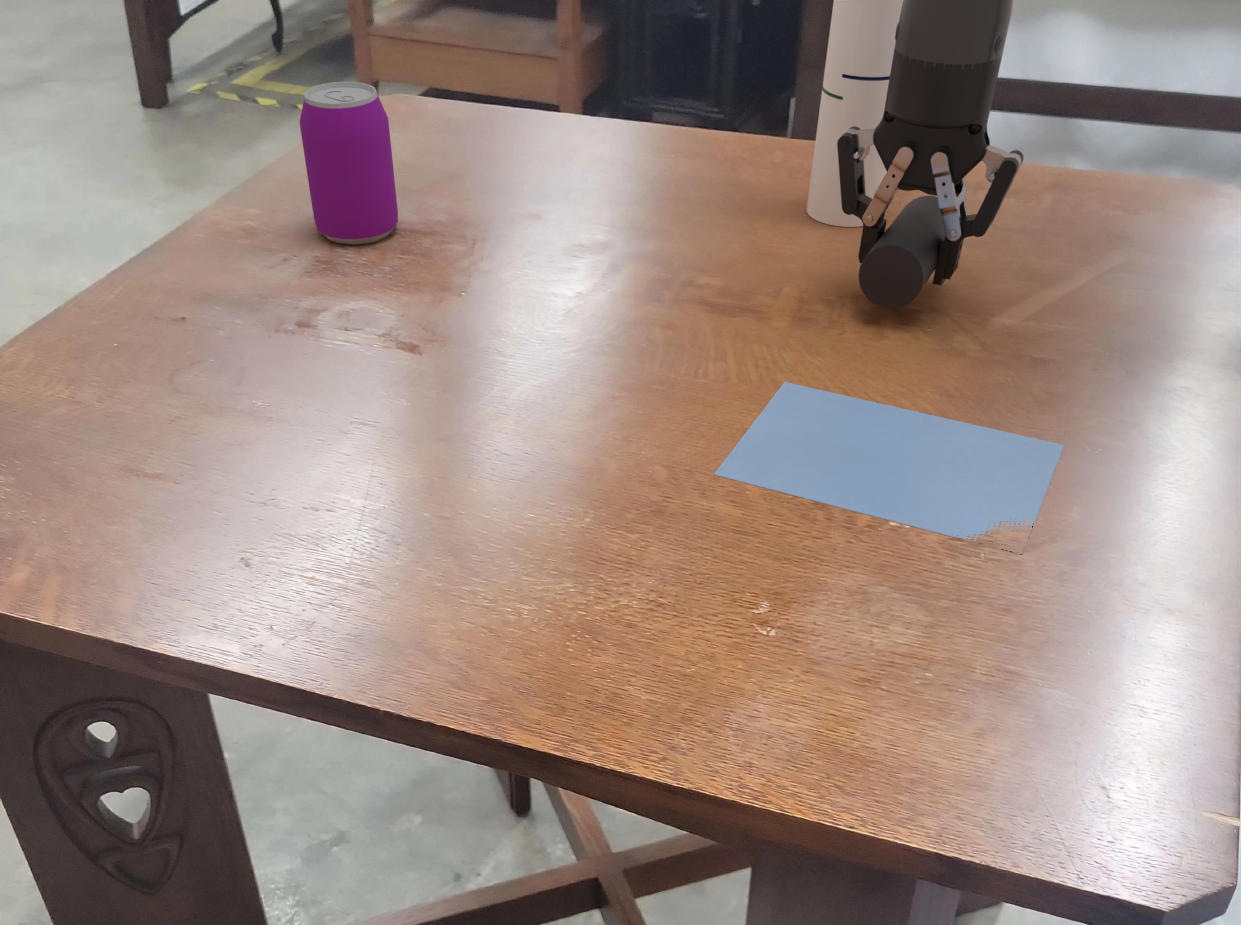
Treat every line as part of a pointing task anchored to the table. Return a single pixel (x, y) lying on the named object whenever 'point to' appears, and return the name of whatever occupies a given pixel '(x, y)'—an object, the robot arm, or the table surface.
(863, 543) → the table surface
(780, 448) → the paper
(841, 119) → the cylindrical container
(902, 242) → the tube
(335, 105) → the beverage can
